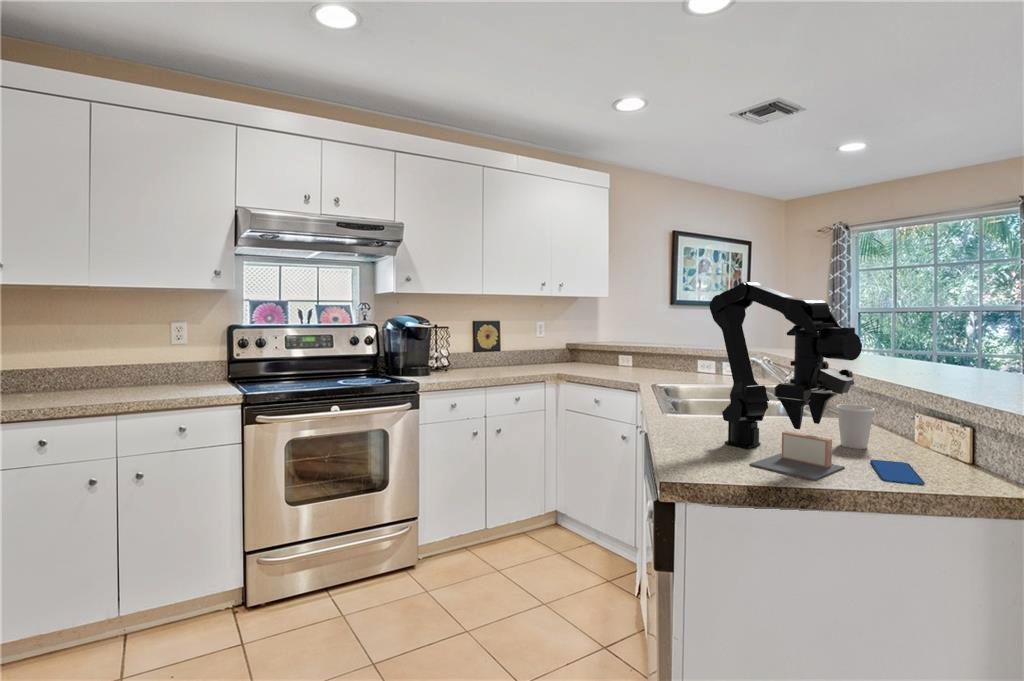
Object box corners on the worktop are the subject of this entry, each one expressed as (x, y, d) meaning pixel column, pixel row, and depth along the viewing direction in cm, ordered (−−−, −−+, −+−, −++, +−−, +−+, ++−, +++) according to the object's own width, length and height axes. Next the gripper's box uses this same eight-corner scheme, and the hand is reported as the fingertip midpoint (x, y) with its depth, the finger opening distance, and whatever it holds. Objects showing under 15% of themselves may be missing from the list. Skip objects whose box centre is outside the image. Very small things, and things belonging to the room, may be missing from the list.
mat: (749, 465, 123) (749, 463, 123) (781, 454, 132) (781, 453, 132) (814, 480, 112) (814, 479, 112) (844, 468, 120) (844, 466, 120)
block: (781, 458, 128) (781, 432, 127) (785, 456, 129) (786, 431, 128) (826, 468, 120) (827, 440, 119) (831, 466, 121) (832, 439, 121)
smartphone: (881, 479, 112) (869, 459, 125) (881, 484, 112) (869, 463, 126) (926, 484, 109) (908, 462, 122) (926, 488, 109) (908, 466, 122)
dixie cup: (829, 445, 140) (831, 406, 140) (841, 440, 146) (842, 402, 145) (867, 451, 134) (869, 411, 133) (878, 446, 140) (879, 406, 139)
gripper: (828, 362, 111) (826, 439, 111) (866, 356, 122) (864, 426, 123) (773, 358, 119) (772, 429, 120) (814, 353, 131) (812, 418, 132)
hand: (807, 426), depth 124 cm, fingers open, 9 cm apart
